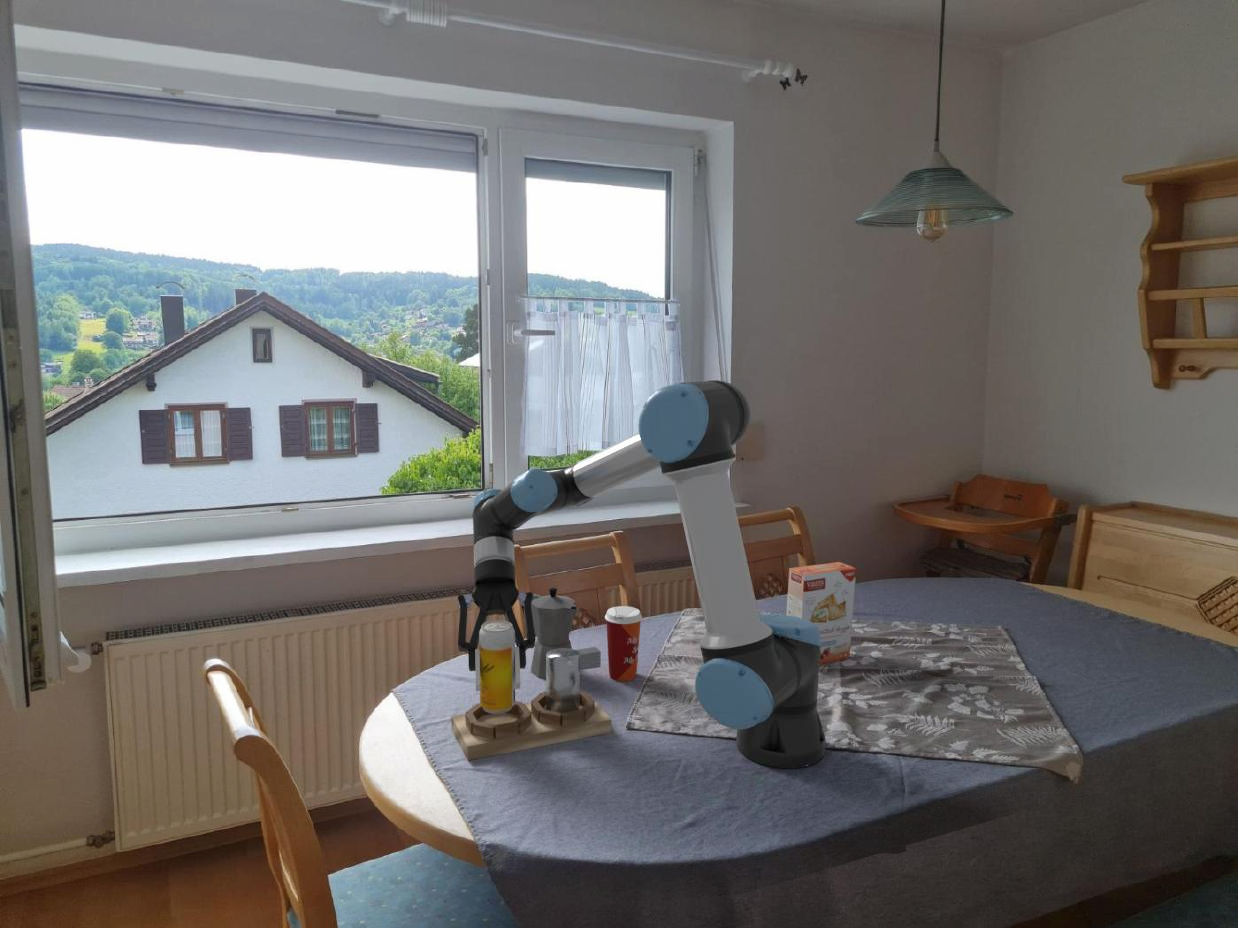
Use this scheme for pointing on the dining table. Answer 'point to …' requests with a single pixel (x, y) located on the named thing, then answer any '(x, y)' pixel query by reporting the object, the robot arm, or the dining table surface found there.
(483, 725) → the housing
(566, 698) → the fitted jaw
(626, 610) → the paper cup
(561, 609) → the coffeepot
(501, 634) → the beer can
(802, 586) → the cracker box
